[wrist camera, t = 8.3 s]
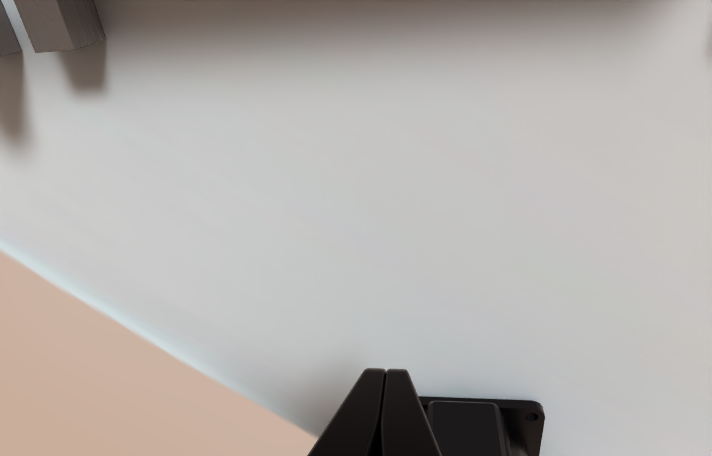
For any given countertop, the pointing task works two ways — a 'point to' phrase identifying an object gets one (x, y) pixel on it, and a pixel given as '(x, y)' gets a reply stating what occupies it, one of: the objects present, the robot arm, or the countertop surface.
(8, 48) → the gauge scale
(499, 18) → the countertop surface
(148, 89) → the countertop surface
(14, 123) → the countertop surface
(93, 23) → the frame
